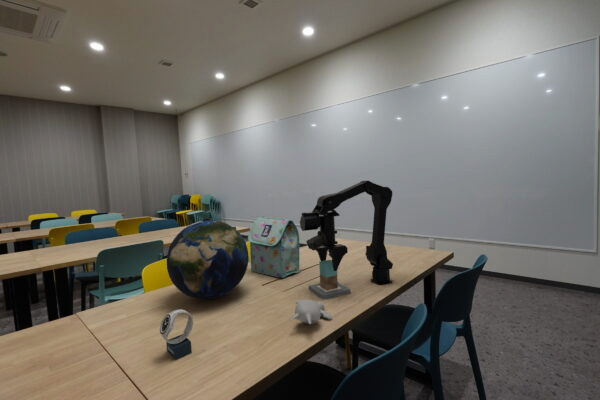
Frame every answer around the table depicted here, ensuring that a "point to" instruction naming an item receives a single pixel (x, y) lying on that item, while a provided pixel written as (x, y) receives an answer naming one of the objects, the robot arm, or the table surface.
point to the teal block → (327, 268)
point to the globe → (207, 259)
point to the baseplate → (329, 291)
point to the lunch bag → (274, 247)
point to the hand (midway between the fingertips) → (329, 267)
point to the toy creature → (310, 311)
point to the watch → (180, 343)
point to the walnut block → (328, 282)
